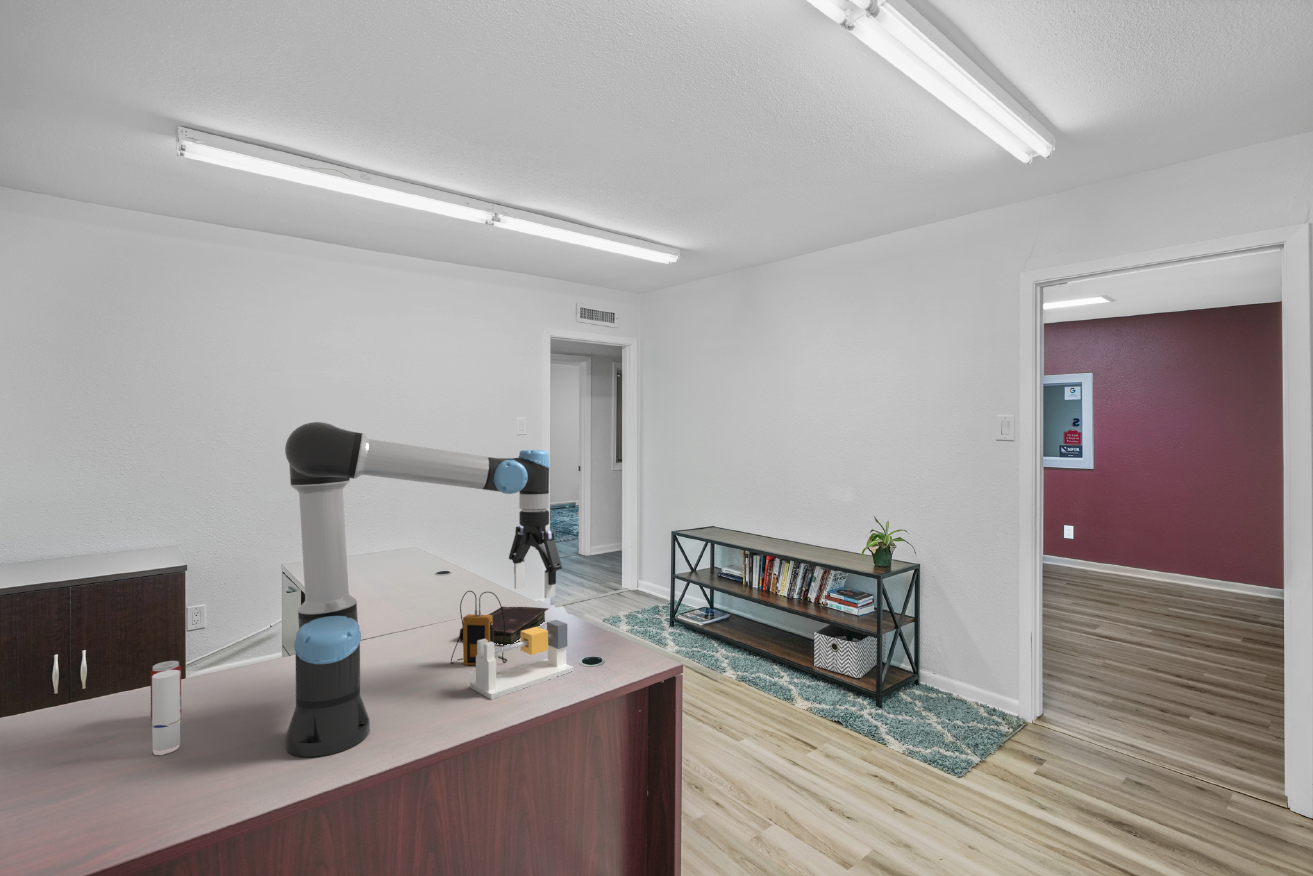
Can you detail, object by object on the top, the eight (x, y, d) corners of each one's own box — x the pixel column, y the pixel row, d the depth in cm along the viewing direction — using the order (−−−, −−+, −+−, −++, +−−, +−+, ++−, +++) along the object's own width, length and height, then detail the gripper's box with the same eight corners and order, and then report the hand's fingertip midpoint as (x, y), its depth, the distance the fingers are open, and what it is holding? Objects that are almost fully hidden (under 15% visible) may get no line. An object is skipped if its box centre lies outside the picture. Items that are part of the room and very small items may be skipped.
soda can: (145, 725, 132) (145, 669, 132) (158, 715, 137) (158, 661, 137) (174, 722, 134) (174, 667, 134) (185, 712, 139) (185, 658, 139)
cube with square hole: (531, 655, 156) (531, 635, 156) (520, 650, 159) (520, 630, 159) (548, 650, 159) (548, 630, 159) (536, 645, 163) (536, 626, 163)
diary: (458, 644, 186) (458, 627, 186) (500, 620, 210) (500, 605, 210) (515, 648, 181) (514, 631, 181) (551, 623, 205) (550, 608, 205)
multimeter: (514, 653, 175) (514, 583, 175) (502, 667, 165) (502, 592, 165) (464, 652, 177) (464, 582, 177) (449, 665, 167) (449, 591, 167)
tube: (177, 742, 125) (176, 668, 125) (183, 749, 122) (182, 673, 122) (150, 750, 122) (149, 674, 122) (155, 757, 119) (155, 680, 119)
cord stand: (491, 699, 145) (491, 648, 145) (470, 687, 152) (469, 638, 152) (573, 671, 162) (573, 625, 162) (550, 661, 169) (550, 617, 169)
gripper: (576, 512, 153) (575, 598, 153) (520, 504, 171) (519, 581, 171) (550, 515, 148) (550, 604, 148) (495, 507, 165) (495, 586, 165)
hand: (534, 592), depth 159 cm, fingers open, 13 cm apart
